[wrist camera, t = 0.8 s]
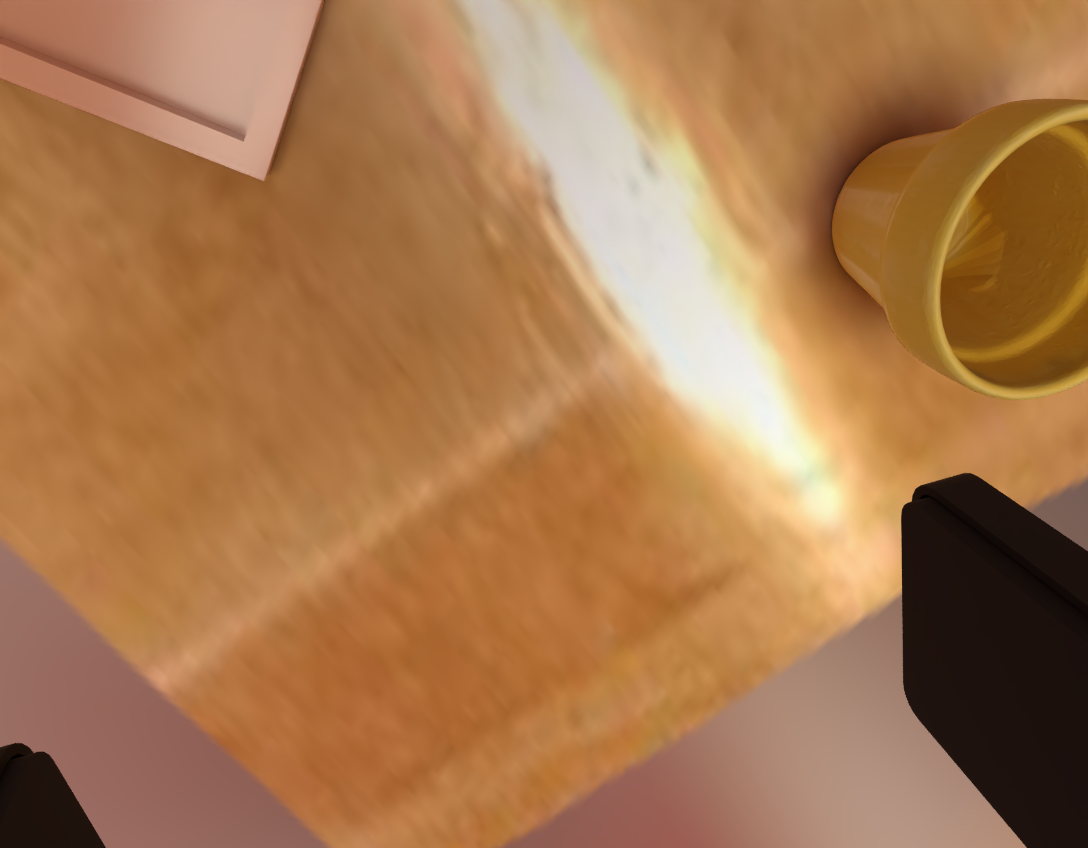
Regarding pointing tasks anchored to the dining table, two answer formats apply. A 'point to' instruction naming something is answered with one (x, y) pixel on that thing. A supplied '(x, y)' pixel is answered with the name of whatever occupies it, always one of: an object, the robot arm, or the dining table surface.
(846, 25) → the dining table surface
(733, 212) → the dining table surface
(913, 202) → the plant pot
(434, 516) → the dining table surface
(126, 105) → the terracotta tray
